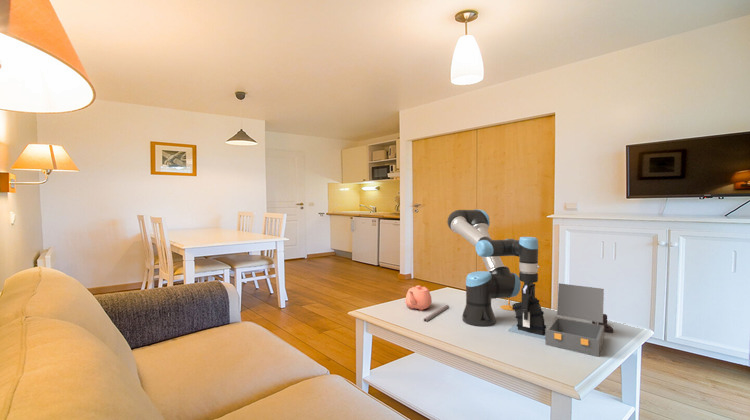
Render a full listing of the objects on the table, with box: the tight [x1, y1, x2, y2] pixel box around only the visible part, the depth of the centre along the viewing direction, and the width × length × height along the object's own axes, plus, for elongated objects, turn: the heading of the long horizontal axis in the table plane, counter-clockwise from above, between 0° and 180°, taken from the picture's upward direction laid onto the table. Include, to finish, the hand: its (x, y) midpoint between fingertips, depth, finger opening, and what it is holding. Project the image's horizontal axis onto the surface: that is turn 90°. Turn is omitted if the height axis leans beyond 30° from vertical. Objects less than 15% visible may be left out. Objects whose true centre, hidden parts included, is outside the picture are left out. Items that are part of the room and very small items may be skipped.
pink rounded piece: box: [404, 285, 432, 312], centre depth 187 cm, size 13×20×12 cm, turn 148°
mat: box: [507, 324, 546, 340], centre depth 151 cm, size 15×8×1 cm, turn 52°
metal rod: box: [422, 304, 450, 323], centre depth 177 cm, size 2×27×2 cm, turn 146°
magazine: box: [511, 297, 547, 335], centre depth 151 cm, size 4×13×15 cm, turn 47°
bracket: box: [591, 313, 614, 334], centre depth 157 cm, size 6×12×5 cm, turn 161°
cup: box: [500, 297, 514, 311], centre depth 187 cm, size 9×9×16 cm
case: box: [545, 317, 605, 358], centre depth 141 cm, size 18×25×16 cm
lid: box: [556, 283, 605, 323], centre depth 149 cm, size 17×14×1 cm
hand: (528, 324), depth 151 cm, fingers open, 6 cm apart
